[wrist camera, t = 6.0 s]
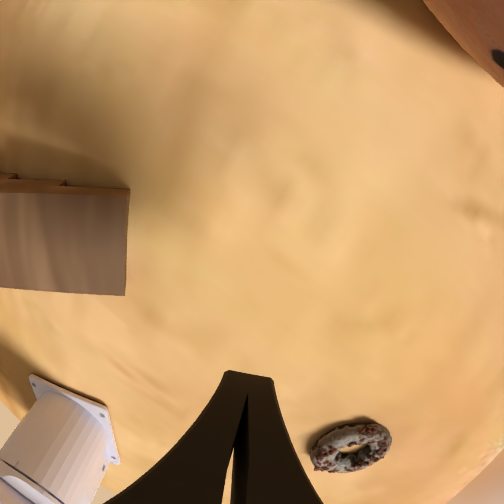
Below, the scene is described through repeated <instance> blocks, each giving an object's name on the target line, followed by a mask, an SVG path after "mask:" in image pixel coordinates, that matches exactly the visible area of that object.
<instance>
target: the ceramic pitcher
mask: <svg viewBox="0 0 504 504" xmlns="http://www.w3.org/2000/svg"><path fill="white" fill-rule="evenodd" d="M423 1H424V3H425V4H426V6H427V7H428V9H429V10H430V11H431V12H432V13H433V14H434V15H435V17H436V18H437V19H438V20H439V22H440V23H441V24H442V25H443V26H444V27H445V29H446V30H447V31H448V32H449V33H450V34H451V35H452V37H453V38H454V39H455V40H456V41H457V42H458V43H459V44H460V46H461V47H462V48H463V49H464V50H465V51H466V52H467V53H468V54H469V55H470V56H471V57H472V58H474V59H475V60H476V61H477V62H478V63H479V64H480V66H481V67H482V68H483V69H484V70H486V71H487V72H488V73H489V74H490V75H491V76H492V77H493V78H494V79H495V80H496V81H497V82H498V83H499V84H500V85H501V86H503V87H504V0H423Z"/></svg>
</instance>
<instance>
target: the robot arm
mask: <svg viewBox="0 0 504 504" xmlns="http://www.w3.org/2000/svg"><path fill="white" fill-rule="evenodd" d="M29 381H30V383H31V386H32V389H33V392H34V394H35V397H36V399H37V401H36V402H35V403H34V405H33V406H32V407H31V409H30V410H29V411H28V413H27V414H26V415H25V417H24V418H23V419H22V421H21V422H20V423H19V425H18V426H17V427H16V429H15V430H14V432H13V433H12V434H11V436H10V437H9V439H8V440H7V441H6V443H5V444H4V446H3V447H2V448H1V450H0V504H91V503H92V501H93V498H94V496H95V494H96V492H97V490H98V487H99V485H100V483H101V481H102V479H103V477H104V474H105V472H106V470H107V468H108V466H109V464H110V463H113V464H116V465H120V463H121V461H120V457H119V453H118V450H117V446H116V442H115V438H114V434H113V429H112V425H111V421H110V416H109V411H108V409H107V408H106V407H105V406H104V405H102V404H99V403H96V402H94V401H91V400H89V399H86V398H84V397H82V396H79V395H77V394H74V393H72V392H70V391H67V390H65V389H63V388H61V387H59V386H56V385H54V384H52V383H50V382H48V381H46V380H44V379H42V378H40V377H38V376H36V375H33V374H31V375H30V376H29ZM233 448H234V454H233V469H232V485H231V500H230V504H323V502H322V501H321V499H320V497H319V496H318V494H317V493H316V491H315V489H314V487H313V486H312V484H311V482H310V480H309V479H308V477H307V475H306V473H305V471H304V469H303V467H302V465H301V463H300V460H299V458H298V456H297V454H296V452H295V449H294V447H293V445H292V442H291V440H290V437H289V434H288V432H287V429H286V426H285V423H284V420H283V417H282V414H281V411H280V408H279V404H278V400H277V396H276V392H275V387H274V381H273V380H272V379H271V378H269V377H264V376H258V375H252V374H247V373H241V372H236V371H231V370H228V371H226V372H224V375H223V378H222V380H221V382H220V384H219V386H218V388H217V390H216V391H215V393H214V395H213V396H212V398H211V400H210V401H209V403H208V404H207V406H206V407H205V408H204V410H203V411H202V413H201V414H200V415H199V417H198V418H197V419H196V421H195V422H194V423H193V425H192V426H191V427H190V428H189V429H188V431H187V432H186V433H185V434H184V435H183V436H182V438H181V439H180V440H179V441H178V442H177V443H176V444H175V445H174V446H173V448H172V449H171V450H170V451H169V452H168V453H167V454H166V455H165V456H164V457H163V458H162V459H160V460H159V461H158V462H157V463H156V464H155V465H154V466H153V467H152V468H151V469H150V470H148V471H147V472H146V473H145V474H144V475H142V476H141V477H140V478H139V479H138V480H136V481H135V482H134V483H133V484H131V485H130V486H129V487H127V488H126V489H125V490H123V491H122V492H120V493H119V494H117V495H116V496H114V497H113V498H111V499H110V500H108V501H107V502H105V503H103V504H221V503H222V497H223V491H224V485H225V479H226V473H227V468H228V465H229V462H230V458H231V455H232V451H233Z"/></svg>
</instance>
